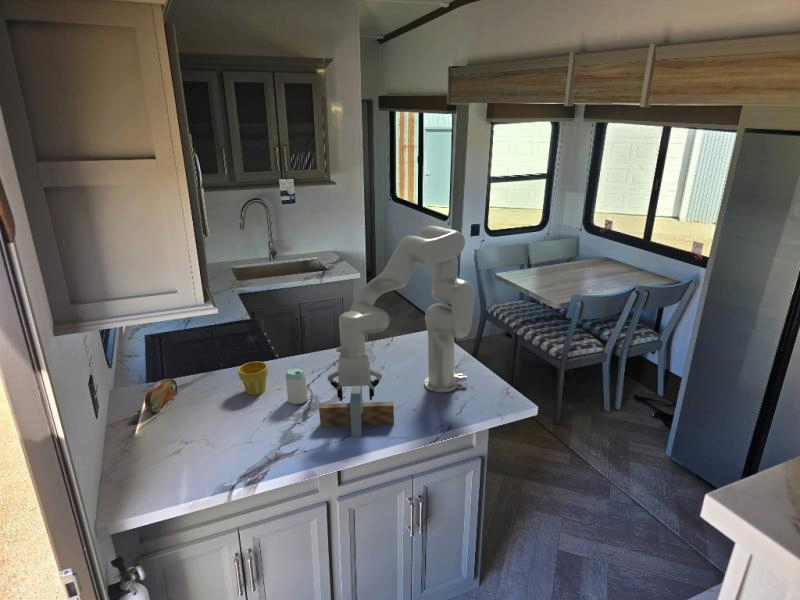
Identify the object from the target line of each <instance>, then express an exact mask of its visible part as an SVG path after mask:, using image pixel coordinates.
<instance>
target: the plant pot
mask: <svg viewBox="0 0 800 600" xmlns="http://www.w3.org/2000/svg"><path fill="white" fill-rule="evenodd" d="M237 371H238V376H239V380H241V381H242V384H243V386H244V389H245V391H246V393H247V394H248V395H249V394H250V396H259V395H261V394H263V393H264V392H265V391H266V384H267V376H268V374H269V370H268V365H267V363H265V362H263V361H258V360H257V361H249V362H247V363H243V364H242V365H241V366H239V367H238V369H237Z"/></svg>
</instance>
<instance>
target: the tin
mask: <svg viewBox="0 0 800 600" xmlns="http://www.w3.org/2000/svg"><path fill="white" fill-rule="evenodd" d="M177 395H178V384H177V381H176V380H175V379H173V378H163V379H162V380H160V381H159V382H157V384H155V385H154V386H153V387H151V389H149V390H148V391H147V392H146V394H145V396H144V405H145V408H146V410H147V411H148V412H150V413H160V412H161V411H162V410H161V409H162V408H163V407H164V406H165V405H166V404H167V403H168V401H170V400H171V399H172V398H173V397H175V396H177ZM175 398H176V397H175ZM160 410H161V411H160ZM159 411H160V412H159Z"/></svg>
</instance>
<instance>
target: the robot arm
mask: <svg viewBox="0 0 800 600" xmlns="http://www.w3.org/2000/svg"><path fill="white" fill-rule="evenodd" d="M419 232H420V233H419V236H416V235H407V236H404V237H402V238H401V240H400V241H399V243H398V245H397V247H396V248H395V249H394V252H393V253H392V255H391V256H390V259H389V261H387V262H388V263H387V264H386V266H385V267H384V269H383V271H381V273H380V274H379V275H377V276H376V277H374V278H373V279H371V280H369V282H368V283H366V284H365V285H364V286H363V287H362V288H361V289H359V290H360V291H359V292H358V293H357V295H356V297H355V299H354V300H353V302H352V304H351V307H350V310H349V311H345V312H343V313H341V314H340V315H339V318H338V322H339V323H338V325H339V339H340V346H339V347H336V350H335V351H336V352H337V353H339V355H338V361H337V369H338V370H336V371H334V372H332V373H330V374H327V377H326V378H327V381H328V382H329V383H330V385H331V386H332V387H333V388H334V389H335V390H336V393H337V394H336V395H337V398H339V402H342V401H343V396H344V395H343V394H344V393H343V387H352V386H362V387H364V386H365V387H367V386H368V391H369V392H368V393H369V396H368V397H369V401H373V397H375V388H376V386H378V385H379V383H380V381H381V380H382V378H383V374H382V373H381V372H378V371H376V370H373V369H371V365H370V358H369V354H368V352H367V351H366V340H365V339H366V336H365V335H367V334H368V335H369V334H377V333H380V332H383V331H385V330H386V329H387V328H388V326H389V324H390V317H389V314H388V313H387V312H386V311H385V310H383V309H381V308H379V307H376V306H375V305H374V304H375V302H376V301H377V300H378V299H379V297H381V296H382V295H383V294H385V293H388V292H392V291H395V290H400V289H402V288H404V287H406V285H407V283H408V282H409V280H410V278H411V276H412V274H414V271H415V269H416V268H417V266H418V265H419V266H424V267H432V280H431V295H432V297H433V298H434V299H435V300H437V301H438V303H434V304H431V305H430V306H429V307H428V308H427V309H426V310H425V315H424V320H425V326H426V330H427V343H428V345H427V349H428V350H427V351H428V353H427V355H428V356H427V357H428V360H427V363H428V365H427V366H428V367H427V369H428V376H427V377H426V378H425V379H424V381H423V383H424V387H425V388H426V389H427V390H428V391H431V392H434V393H440V394H441V393H449V392H453V391H454V390H456V389H457V388H458V386H459V382H467V381H468V378H467V377H468V376H467V375H463V373H456V372H455V346H456V345H455V339H462V338H465V337H467V335H468V334H469V333H470V331H471V328H472V323H473V315H474V305H475V303H474V302H475V290H474V287H473V285H472V284H471V283H470V282H469V281H467V280H466V279H462V278H459V277H458V269H459V268H458V267H459V265H458V264H459V261H458V256H459V255H460V254H462V252H463V251H464V248H465V245H466V239H465V236H464V234H463V233H462V232H460V231H458V230H455V229H451V228H446V227H442V226H437V225H426V226H423V227H422V228H421V230H420V231H419ZM439 302H441V303H439ZM372 376H373V377H375V379H374V380H373V379H372ZM337 377H338V379H337V380H338V381H336V380H335V379H334V378H337Z"/></svg>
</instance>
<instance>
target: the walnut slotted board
mask: <svg viewBox="0 0 800 600" xmlns="http://www.w3.org/2000/svg"><path fill="white" fill-rule="evenodd" d="M362 407H363V412H362V426H380V425H381V426H383V425H384V426H385V425H395V415H394V401H373V402H371V401H369V402H363V406H362ZM318 410H319V411H318V412H319V420H320V422H319V423H320V427H321V428H323V427H328V428H329V427H349V426H350V427H351V417H350V402H344V403H342V402H341V403H339V402H338V403H319V407H318Z"/></svg>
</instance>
